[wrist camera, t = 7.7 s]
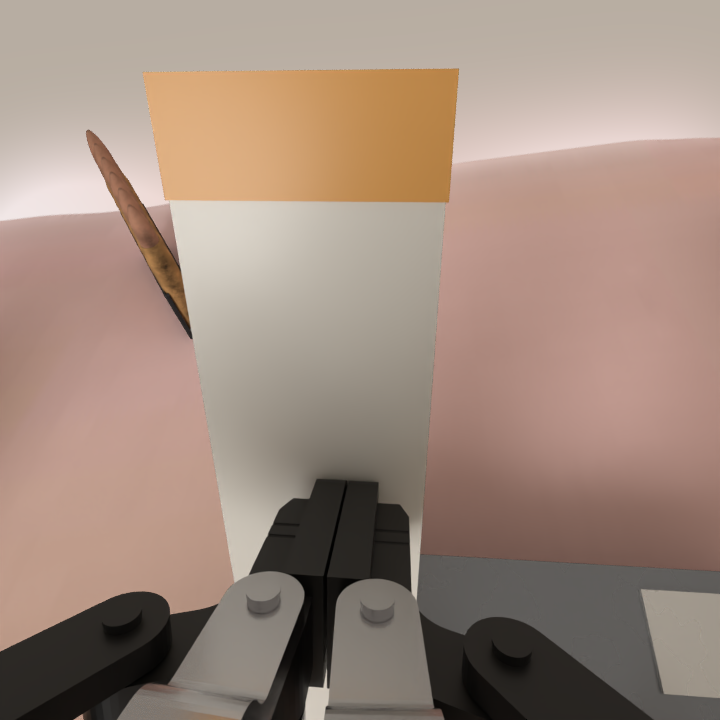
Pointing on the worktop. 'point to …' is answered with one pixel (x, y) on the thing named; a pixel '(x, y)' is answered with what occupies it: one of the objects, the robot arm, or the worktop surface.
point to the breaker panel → (598, 621)
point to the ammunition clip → (143, 231)
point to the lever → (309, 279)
